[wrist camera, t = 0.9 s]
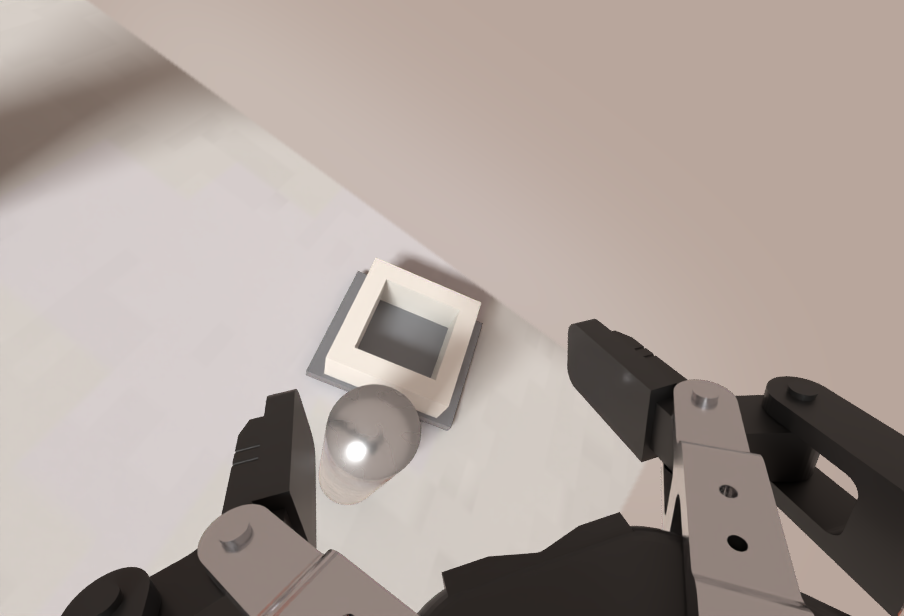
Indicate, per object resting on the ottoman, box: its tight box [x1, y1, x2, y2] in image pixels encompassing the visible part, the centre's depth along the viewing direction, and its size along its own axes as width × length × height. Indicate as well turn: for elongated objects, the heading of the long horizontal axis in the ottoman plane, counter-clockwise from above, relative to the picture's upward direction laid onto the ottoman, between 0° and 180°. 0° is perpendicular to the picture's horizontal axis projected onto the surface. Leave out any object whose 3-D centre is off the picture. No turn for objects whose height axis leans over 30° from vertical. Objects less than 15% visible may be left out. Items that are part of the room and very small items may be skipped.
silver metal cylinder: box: [318, 384, 421, 505], centre depth 27 cm, size 4×4×14 cm
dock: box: [306, 258, 483, 430], centre depth 36 cm, size 12×10×4 cm
